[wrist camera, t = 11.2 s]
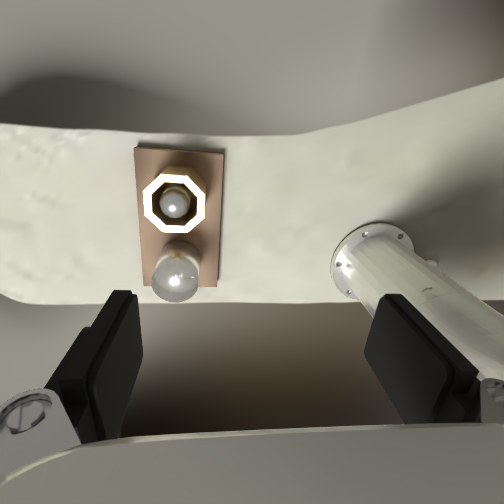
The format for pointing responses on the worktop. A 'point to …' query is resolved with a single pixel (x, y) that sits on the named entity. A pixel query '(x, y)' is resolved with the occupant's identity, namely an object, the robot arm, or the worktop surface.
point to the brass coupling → (154, 194)
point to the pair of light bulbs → (176, 252)
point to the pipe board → (208, 228)
